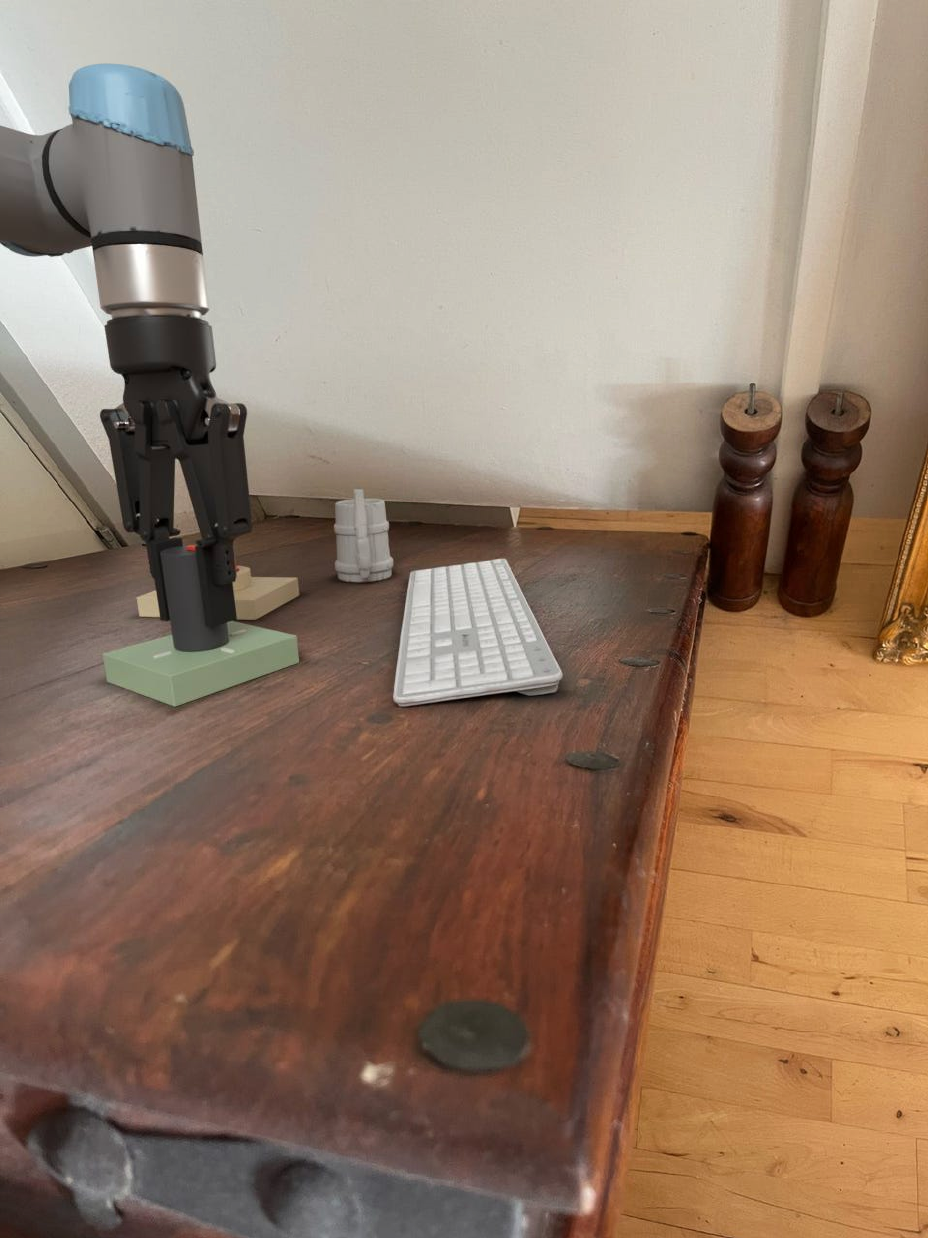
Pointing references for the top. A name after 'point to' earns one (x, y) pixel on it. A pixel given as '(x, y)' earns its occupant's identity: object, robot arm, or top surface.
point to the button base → (242, 595)
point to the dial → (188, 602)
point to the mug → (362, 539)
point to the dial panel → (199, 664)
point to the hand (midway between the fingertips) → (198, 619)
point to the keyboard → (470, 637)
